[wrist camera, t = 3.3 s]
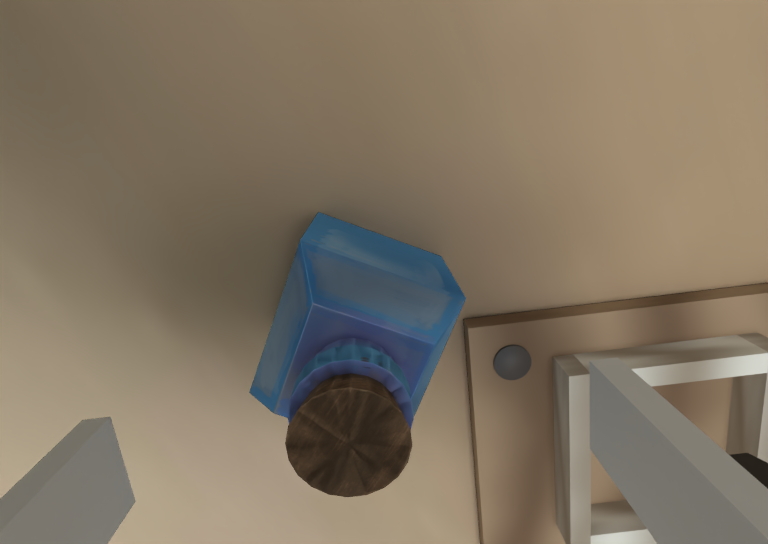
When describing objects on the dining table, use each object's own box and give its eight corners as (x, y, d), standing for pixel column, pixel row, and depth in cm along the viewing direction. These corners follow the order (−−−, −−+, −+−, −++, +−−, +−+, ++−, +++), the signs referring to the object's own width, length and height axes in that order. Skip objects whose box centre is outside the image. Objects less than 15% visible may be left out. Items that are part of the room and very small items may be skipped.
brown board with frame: (480, 543, 28) (494, 594, 25) (463, 319, 24) (477, 346, 21) (789, 507, 28) (841, 552, 25) (822, 276, 24) (889, 297, 21)
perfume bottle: (395, 366, 25) (418, 568, 13) (278, 328, 24) (195, 508, 12) (441, 256, 23) (512, 376, 12) (318, 212, 22) (264, 294, 11)
